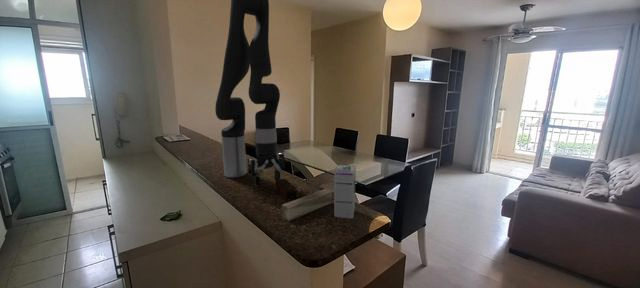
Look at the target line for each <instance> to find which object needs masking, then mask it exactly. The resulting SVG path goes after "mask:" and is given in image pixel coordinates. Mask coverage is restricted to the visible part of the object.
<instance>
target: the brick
mask: <svg viewBox="0 0 640 288" xmlns="http://www.w3.org/2000/svg"><path fill="white" fill-rule="evenodd" d="M275 189H276V193H277V194H278V195H279V196H280V197H281V198H283V200H285V201H286V202H291V201H294V200H297V199H298V190H297V188H296V186H295V185H294V184H293V183H291V182H290V181H289V180H288V179H286V178H280V180H275Z"/></svg>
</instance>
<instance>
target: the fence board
mask: <svg viewBox="0 0 640 288" xmlns="http://www.w3.org/2000/svg"><path fill="white" fill-rule="evenodd" d="M332 203H333V191H332V190H329V189H327V188H325V189H322V190H319V191H315V192H314V193H311V194H308V195H305V196H303V197H300V198H297V199H296V200H290V201H288V202H285V203H283V204H282V205H281V206H282V207H281V208H282V209H281V210H282V219H284V220H286V221H288V222H291V221H293V220H295V219H297V218H300V217H302V216H304V215H306V214H308V213H311V212H313V211H316V210H319V209H320V208H323V207H325V206H327V205H330V204H332Z"/></svg>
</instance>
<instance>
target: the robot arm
mask: <svg viewBox="0 0 640 288" xmlns="http://www.w3.org/2000/svg"><path fill="white" fill-rule="evenodd" d="M229 11H230V13H229V25H228V33H227V34H228V35H227V40H226V47H225V52H224V57H223V58H224V60H223V67H222V75H221V81H220V84H219V89H218V93H217V98H216V101H215V107H214V109H215V116H216V118H217V119H218V120H220V121H232V122H231V123H230V124H229V125H228V126H226V127H224V128H222V129H221V132H220V133H221V146H222V160H223V162H222V163H223V174H224V175H223V176H224V177H226V178H231V179H232V178H240V177H243V176H246V175H247V174H248V176H250V177H252V178H253V185H254V186H256V187H257V188H259V187H260V188H261V177H260V176H261V173H262V172H264V170H265V169H269V168H273V169H274V181H276V180H280V179H281V171H282V170H284V169H285V167H286V165H285V155H284V153H281V152H278V141H277V139H278V137H277V136H278V135H277V127H276V125H277V124H276V123H277V122H276V120H277V119H276V116H277V111H278V107H279V103H280V99H281V92H280V89H279V87H278V85H276V84H274V83H271V82H270V83H269V82H268V83H266V82H265V83H264V82H262V81H263V78H267V77H269V76H271V74H272V72H273V71H272V70H273V69H272V62H271V56H270V54H271V53H270V46H269V44H270V43H269V37H270V36H269V30H270V28H269V27H270V26H269V25H270V1H269V0H230V10H229ZM246 15H251V16H254V17H255V22H256V27H255V32H254V35H253V37H252V39H251V41H250V44H249V41H248V39H247V36H246V33H245V26H244V25H245V16H246ZM249 71H250V77H249V84H248V86H249V87H248V97H249V99H250V101H251V102H252V103H253V104H255V105H264V108H263V109H261V110H259V111H256V113H255V115H254V118H255V119H254V121H255V131H254V132H255V134H254V135H255V136H254V138H255V139H254V140H255V155H256V157H255V158H248V160H247V158H246V157H247V156H246V139H245V138H246V137H245V131H246V106H245V102H244V100H243V98H241V97H236V96H235V97H232V95H233V92H234V90H235V89H236V88H237V86H238V85H239V84H240V83H241V82H242V80H244V78H245V77H246V76H247V74H248V73H249ZM276 161H277V162H276Z"/></svg>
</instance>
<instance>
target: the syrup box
mask: <svg viewBox="0 0 640 288" xmlns="http://www.w3.org/2000/svg"><path fill="white" fill-rule="evenodd" d="M333 172H334V176H333V177H334V181H333V182H334V187H333V188H334V191H333V193H334V194H333V197H334V198H333V199H334V200H333V201H334V202H333V203H334V205H333V213H334V217H335V218H339V219H340V218H341V219H351V220H352V219H354V215H355V212H356V211H355V210H356V207H355V206H356V204H355V203H356V166H354V165H345V164H343V165H341V164H340V165H337V166H336V168H335V169H334V171H333Z"/></svg>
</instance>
